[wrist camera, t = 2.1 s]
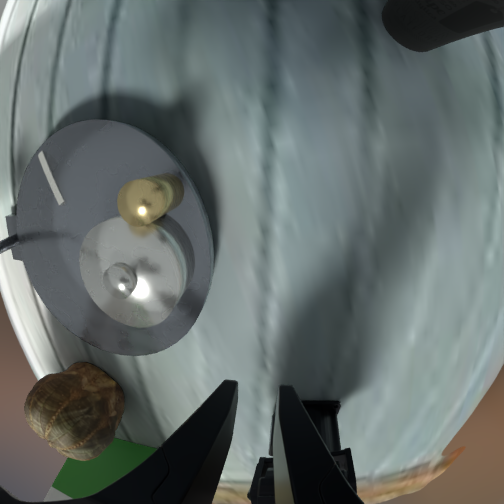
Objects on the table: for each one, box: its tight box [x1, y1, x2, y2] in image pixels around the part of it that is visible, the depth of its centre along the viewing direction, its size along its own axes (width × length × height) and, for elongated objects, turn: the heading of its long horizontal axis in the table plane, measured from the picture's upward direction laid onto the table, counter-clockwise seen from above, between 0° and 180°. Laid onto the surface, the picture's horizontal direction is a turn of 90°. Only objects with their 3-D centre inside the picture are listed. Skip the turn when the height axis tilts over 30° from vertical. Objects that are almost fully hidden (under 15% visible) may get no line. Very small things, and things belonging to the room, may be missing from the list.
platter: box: [16, 119, 214, 356], centre depth 18 cm, size 20×20×5 cm
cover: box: [79, 214, 195, 328], centre depth 16 cm, size 7×7×4 cm
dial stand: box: [0, 214, 23, 261], centre depth 18 cm, size 7×5×10 cm
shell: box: [24, 362, 125, 461], centre depth 23 cm, size 11×11×12 cm
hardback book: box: [43, 438, 157, 502], centre depth 24 cm, size 18×7×24 cm, turn 96°
